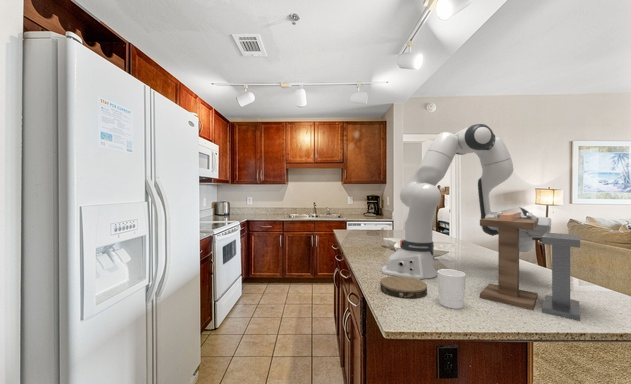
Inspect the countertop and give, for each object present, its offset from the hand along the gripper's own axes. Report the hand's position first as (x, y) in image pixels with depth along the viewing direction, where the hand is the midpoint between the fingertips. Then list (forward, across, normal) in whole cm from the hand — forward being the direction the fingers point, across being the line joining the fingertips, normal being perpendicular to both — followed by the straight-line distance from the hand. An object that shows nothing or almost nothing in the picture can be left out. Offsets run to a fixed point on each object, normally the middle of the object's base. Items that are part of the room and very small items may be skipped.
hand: (513, 213), depth 99 cm
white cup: (+12, -12, +39) cm, 43 cm away
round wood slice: (+11, -29, +39) cm, 49 cm away
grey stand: (-4, +13, +29) cm, 32 cm away
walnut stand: (-4, 0, +29) cm, 29 cm away
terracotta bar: (+5, 0, +4) cm, 6 cm away
